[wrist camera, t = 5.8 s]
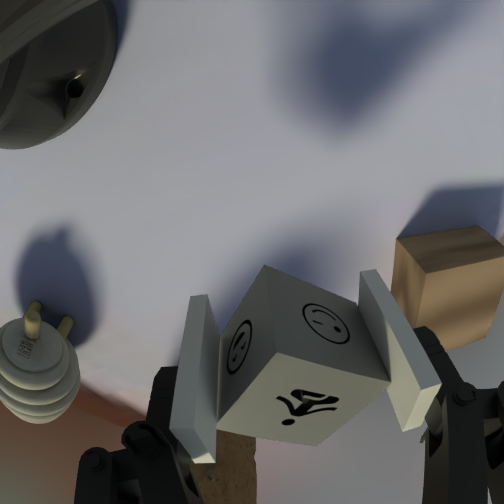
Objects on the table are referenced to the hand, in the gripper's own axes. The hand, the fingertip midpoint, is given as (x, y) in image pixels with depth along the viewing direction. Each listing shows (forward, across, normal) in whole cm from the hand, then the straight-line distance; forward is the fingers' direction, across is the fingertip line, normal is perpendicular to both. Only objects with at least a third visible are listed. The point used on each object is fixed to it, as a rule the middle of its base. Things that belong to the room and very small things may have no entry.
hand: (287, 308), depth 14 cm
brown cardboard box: (+12, +16, -9) cm, 22 cm away
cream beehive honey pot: (+12, -25, -10) cm, 30 cm away
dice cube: (+1, 0, -1) cm, 1 cm away
